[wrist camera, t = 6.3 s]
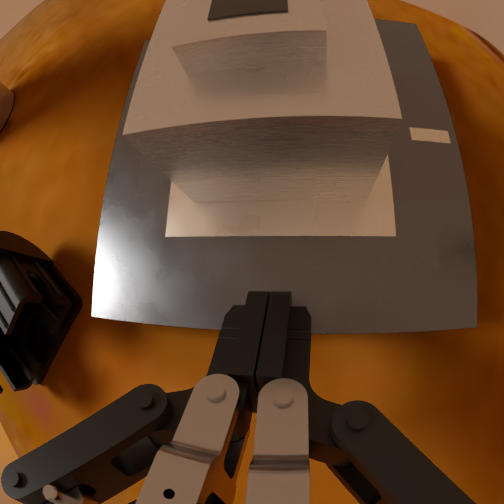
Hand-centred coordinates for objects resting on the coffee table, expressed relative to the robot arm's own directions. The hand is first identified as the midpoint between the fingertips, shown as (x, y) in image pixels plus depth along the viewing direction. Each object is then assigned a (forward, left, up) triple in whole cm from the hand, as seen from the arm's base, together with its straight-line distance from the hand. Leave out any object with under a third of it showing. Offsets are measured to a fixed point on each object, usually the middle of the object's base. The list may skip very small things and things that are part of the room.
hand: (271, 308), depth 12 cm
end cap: (-19, -2, -7) cm, 20 cm away
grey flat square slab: (0, +9, -4) cm, 10 cm away
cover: (0, +9, -3) cm, 10 cm away
